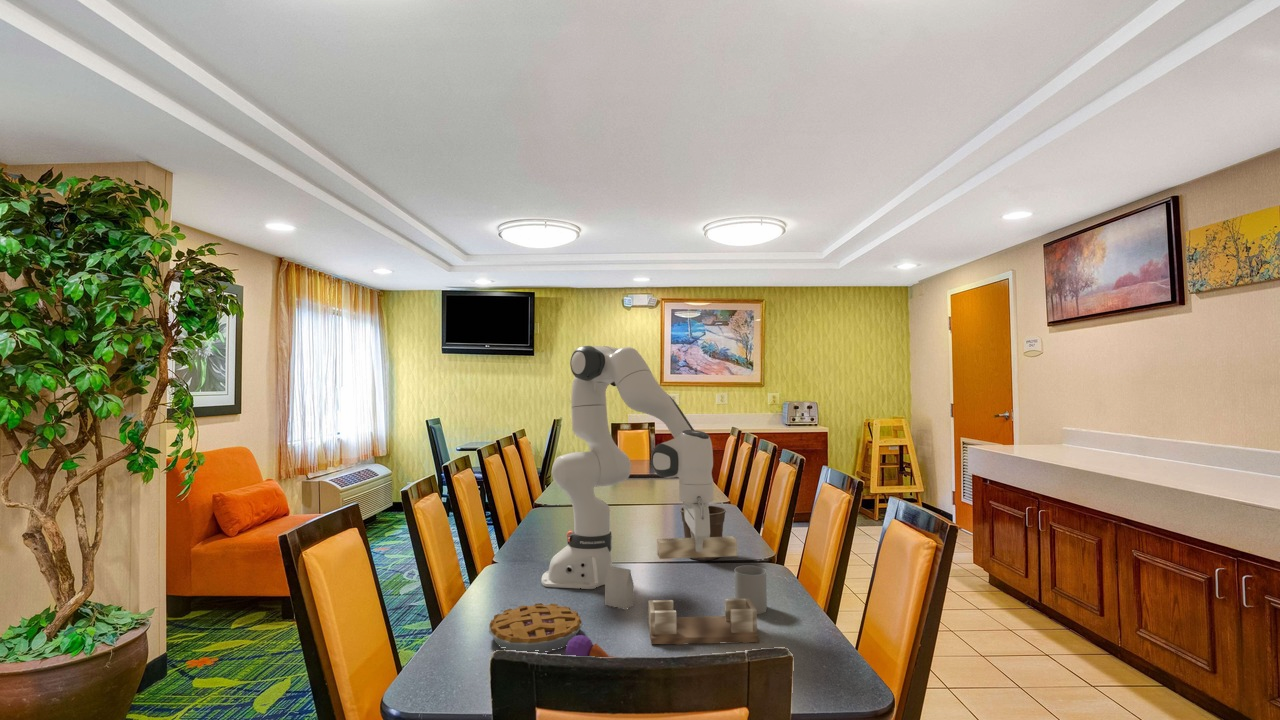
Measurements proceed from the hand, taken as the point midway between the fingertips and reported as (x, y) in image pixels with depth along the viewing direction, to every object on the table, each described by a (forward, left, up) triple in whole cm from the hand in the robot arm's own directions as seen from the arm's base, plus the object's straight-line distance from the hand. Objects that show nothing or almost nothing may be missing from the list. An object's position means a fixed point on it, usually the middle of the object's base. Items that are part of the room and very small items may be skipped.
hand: (697, 548), depth 152 cm
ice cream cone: (-22, -26, -18) cm, 39 cm away
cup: (+15, +6, -18) cm, 24 cm away
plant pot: (+10, +55, -18) cm, 58 cm away
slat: (0, 0, -2) cm, 2 cm away
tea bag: (-20, +10, -18) cm, 28 cm away
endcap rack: (0, -9, -18) cm, 20 cm away
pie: (-40, -9, -18) cm, 45 cm away
